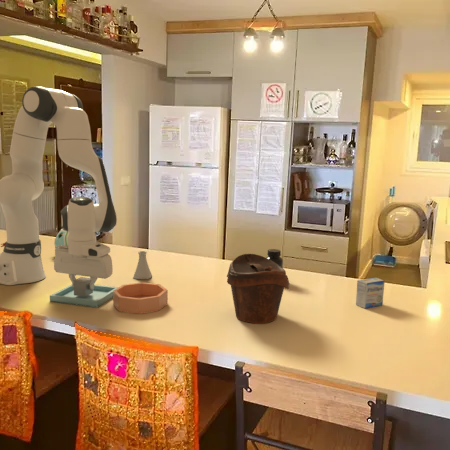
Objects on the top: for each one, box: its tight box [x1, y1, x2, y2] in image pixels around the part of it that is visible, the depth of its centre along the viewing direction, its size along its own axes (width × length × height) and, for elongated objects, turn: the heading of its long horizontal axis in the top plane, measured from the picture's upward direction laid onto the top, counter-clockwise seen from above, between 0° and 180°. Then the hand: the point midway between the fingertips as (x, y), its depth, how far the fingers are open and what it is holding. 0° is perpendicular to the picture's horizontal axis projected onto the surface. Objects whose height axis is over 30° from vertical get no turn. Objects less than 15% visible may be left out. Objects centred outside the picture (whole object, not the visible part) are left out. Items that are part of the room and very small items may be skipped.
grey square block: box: [73, 276, 93, 297], centre depth 165 cm, size 4×4×5 cm
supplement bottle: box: [265, 248, 284, 269], centre depth 187 cm, size 7×7×12 cm
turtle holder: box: [54, 228, 69, 249], centre depth 216 cm, size 12×18×12 cm
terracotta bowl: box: [112, 282, 169, 315], centre depth 160 cm, size 16×16×5 cm
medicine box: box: [355, 277, 385, 310], centre depth 163 cm, size 8×4×9 cm, turn 117°
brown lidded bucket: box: [226, 253, 290, 325], centre depth 150 cm, size 18×20×18 cm
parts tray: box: [49, 283, 119, 308], centre depth 166 cm, size 17×15×2 cm
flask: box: [132, 250, 153, 280], centre depth 188 cm, size 7×7×10 cm
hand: (83, 287), depth 165 cm, fingers closed on grey square block, 4 cm apart
